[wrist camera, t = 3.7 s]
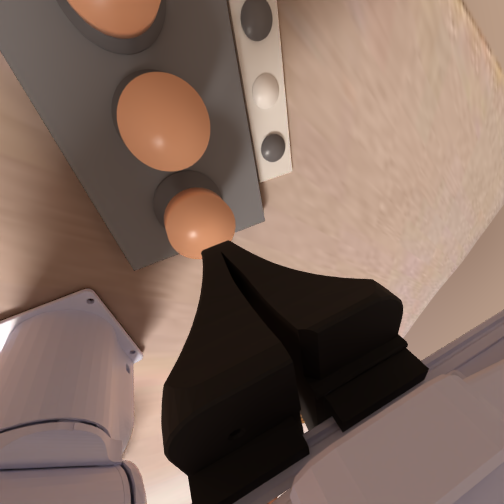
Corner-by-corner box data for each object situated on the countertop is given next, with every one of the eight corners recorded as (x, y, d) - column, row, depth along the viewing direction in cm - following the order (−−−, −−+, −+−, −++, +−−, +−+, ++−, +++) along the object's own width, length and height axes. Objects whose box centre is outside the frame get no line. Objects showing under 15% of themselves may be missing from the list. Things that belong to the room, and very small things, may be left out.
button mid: (207, 150, 15) (219, 158, 13) (140, 170, 14) (142, 182, 12) (184, 68, 13) (195, 62, 10) (102, 86, 12) (97, 83, 10)
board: (259, 215, 22) (266, 222, 21) (134, 262, 20) (134, 273, 18) (195, -124, 12) (202, -150, 10) (-90, -115, 9) (-123, -147, 8)
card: (290, 170, 21) (293, 172, 21) (258, 181, 20) (261, 183, 20) (270, -38, 14) (274, -42, 14) (221, -32, 13) (224, -36, 13)
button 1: (228, 228, 18) (241, 244, 16) (175, 248, 17) (181, 268, 15) (214, 174, 16) (226, 186, 14) (151, 194, 15) (155, 209, 13)
